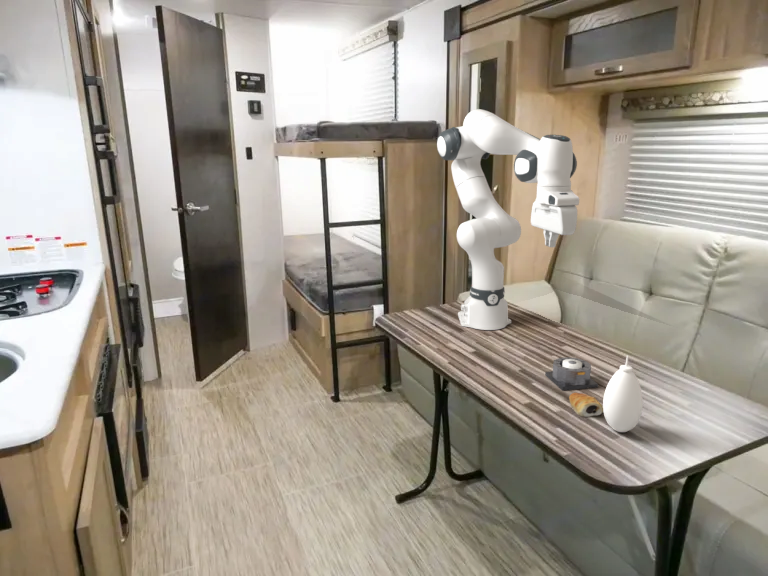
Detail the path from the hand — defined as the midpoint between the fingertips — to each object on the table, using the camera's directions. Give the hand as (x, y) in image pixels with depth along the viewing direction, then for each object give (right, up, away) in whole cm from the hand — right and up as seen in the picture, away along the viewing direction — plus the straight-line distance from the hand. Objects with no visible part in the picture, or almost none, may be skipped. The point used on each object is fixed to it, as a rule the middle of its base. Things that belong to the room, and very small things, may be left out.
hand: (550, 246), depth 145 cm
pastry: (+2, -42, -19) cm, 45 cm away
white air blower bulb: (+6, -44, -29) cm, 53 cm away
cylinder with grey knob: (+5, -36, -4) cm, 37 cm away
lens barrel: (+5, -37, -3) cm, 37 cm away
